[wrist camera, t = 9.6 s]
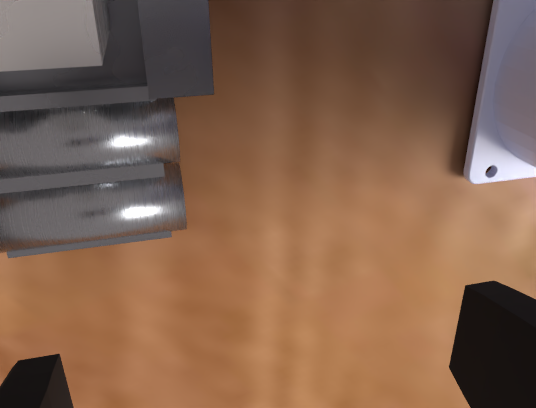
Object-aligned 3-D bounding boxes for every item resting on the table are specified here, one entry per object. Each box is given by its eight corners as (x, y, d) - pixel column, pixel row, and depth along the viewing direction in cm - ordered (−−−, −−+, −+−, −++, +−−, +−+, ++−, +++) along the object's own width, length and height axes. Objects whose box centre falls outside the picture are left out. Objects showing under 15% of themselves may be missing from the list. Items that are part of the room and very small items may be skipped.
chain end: (184, -159, 14) (197, -183, 11) (210, 209, 19) (223, 253, 16) (-162, -168, 12) (-242, -199, 9) (-31, 238, 17) (-60, 292, 14)
